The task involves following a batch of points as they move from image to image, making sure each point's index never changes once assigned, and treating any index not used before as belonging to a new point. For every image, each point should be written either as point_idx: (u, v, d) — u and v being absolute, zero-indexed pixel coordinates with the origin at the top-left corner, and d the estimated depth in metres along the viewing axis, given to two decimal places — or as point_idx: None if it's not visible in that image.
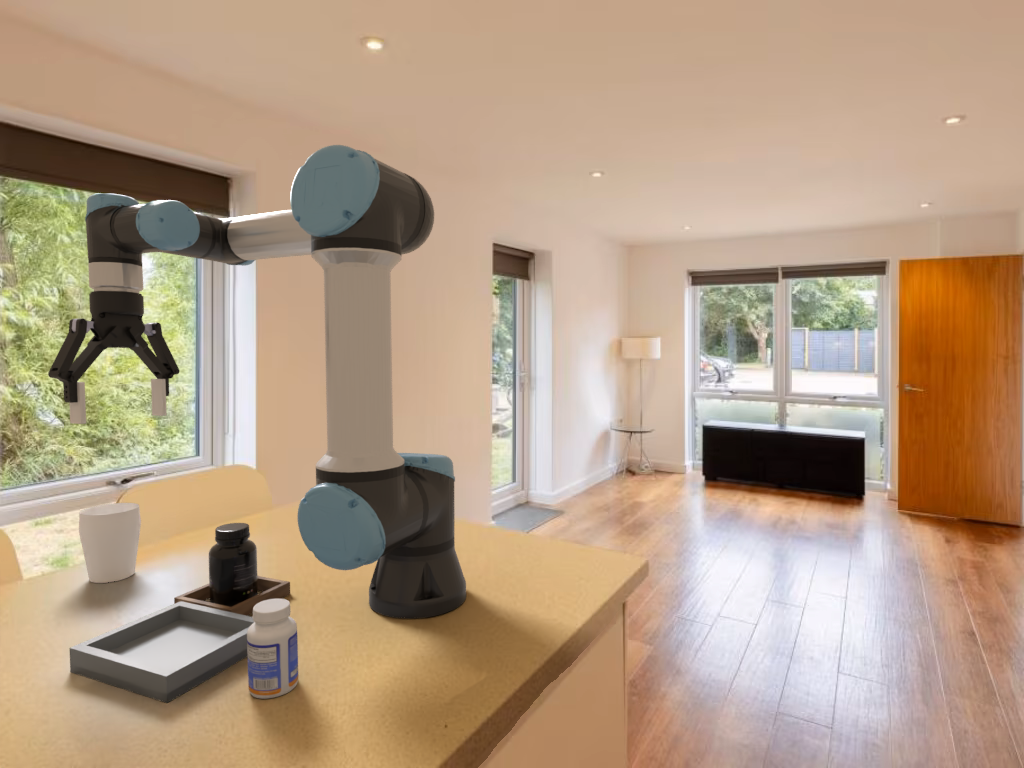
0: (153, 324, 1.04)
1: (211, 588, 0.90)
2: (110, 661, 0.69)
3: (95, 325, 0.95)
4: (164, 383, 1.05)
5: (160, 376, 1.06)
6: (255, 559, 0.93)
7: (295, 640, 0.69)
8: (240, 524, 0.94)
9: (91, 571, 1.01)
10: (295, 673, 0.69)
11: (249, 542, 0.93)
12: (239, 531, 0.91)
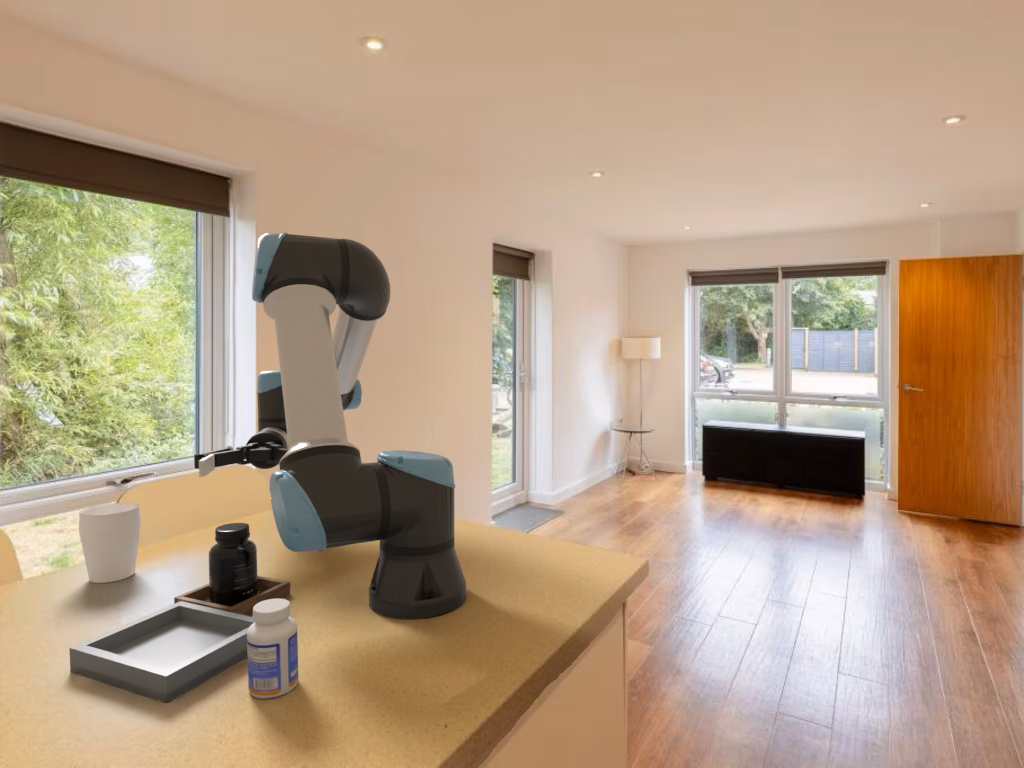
0: None
1: (211, 588, 0.90)
2: (110, 661, 0.69)
3: None
4: None
5: None
6: (255, 559, 0.93)
7: (295, 640, 0.69)
8: (240, 524, 0.94)
9: (91, 571, 1.01)
10: (295, 673, 0.69)
11: (249, 542, 0.93)
12: (239, 531, 0.91)
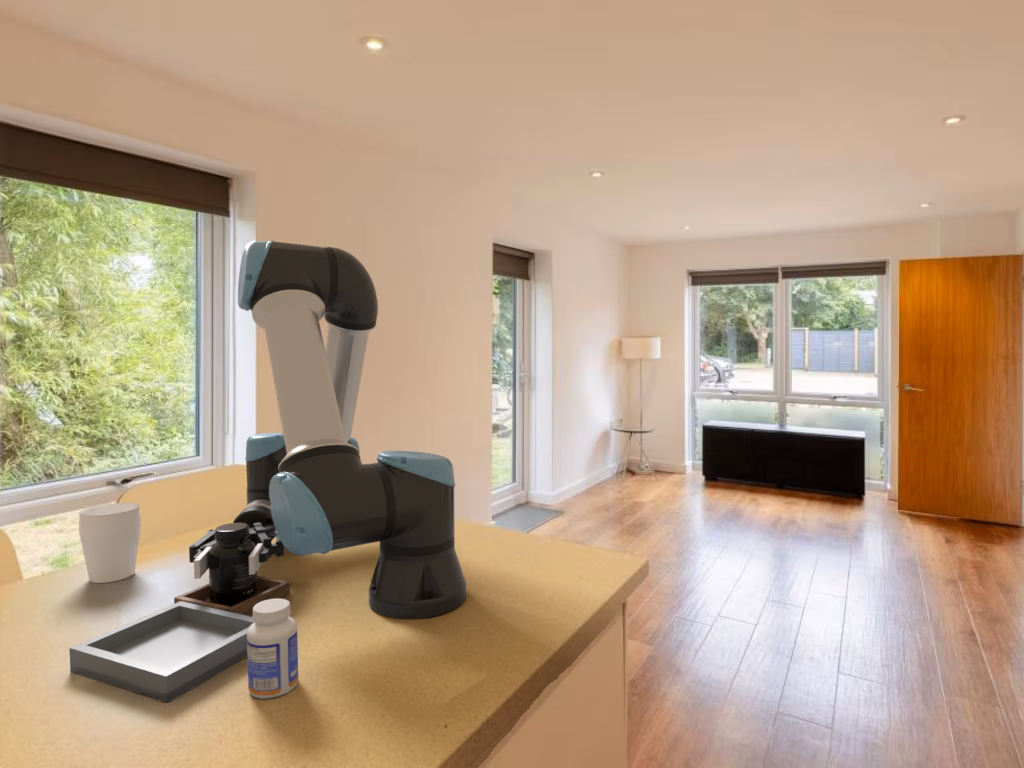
0: None
1: (211, 588, 0.90)
2: (110, 661, 0.69)
3: None
4: (260, 544, 0.94)
5: None
6: None
7: (295, 640, 0.69)
8: (240, 524, 0.94)
9: (91, 571, 1.01)
10: (295, 673, 0.69)
11: (249, 542, 0.93)
12: (239, 531, 0.91)
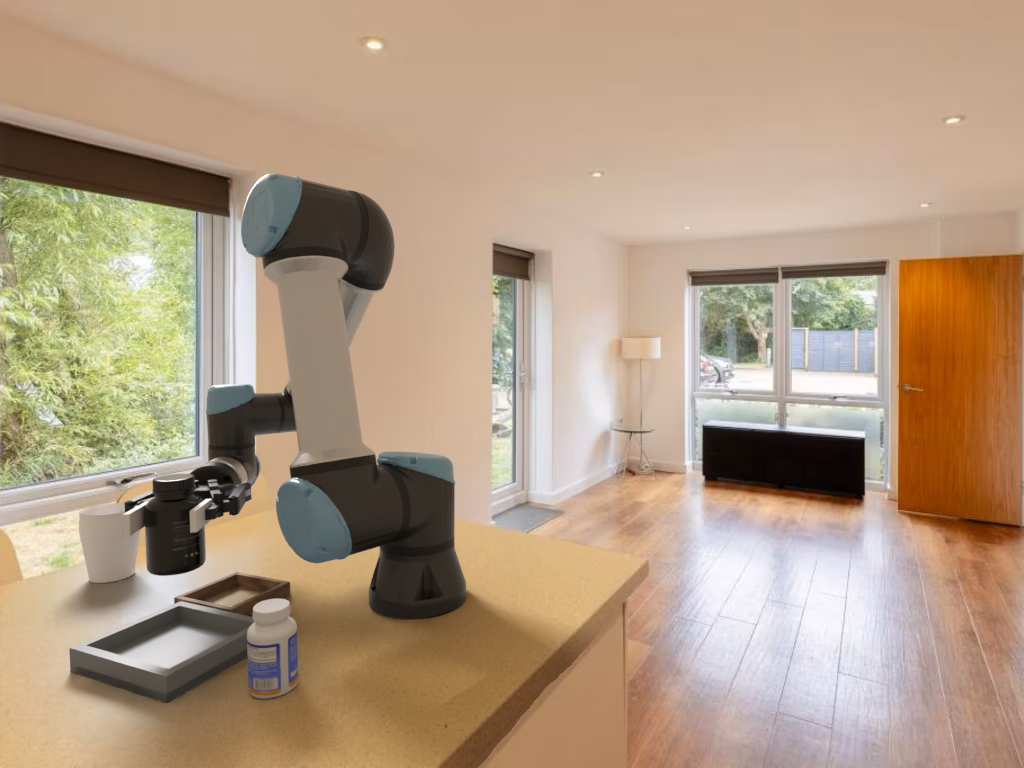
0: None
1: (147, 549, 0.76)
2: (110, 661, 0.69)
3: None
4: (208, 500, 0.79)
5: None
6: None
7: (295, 640, 0.69)
8: (184, 475, 0.79)
9: (91, 571, 1.01)
10: (295, 673, 0.69)
11: (194, 496, 0.78)
12: (181, 481, 0.76)
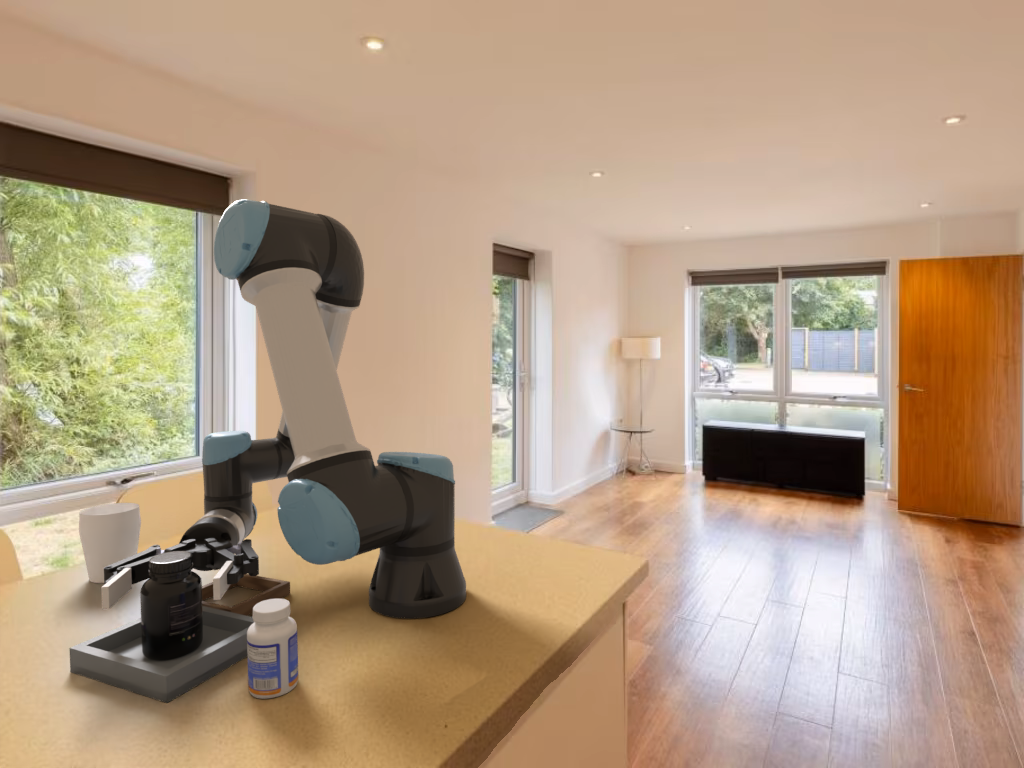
0: None
1: (143, 633, 0.73)
2: (110, 661, 0.69)
3: None
4: (229, 562, 0.79)
5: None
6: (199, 596, 0.76)
7: (295, 640, 0.69)
8: (181, 553, 0.77)
9: (91, 571, 1.01)
10: (295, 673, 0.69)
11: (192, 575, 0.76)
12: (178, 563, 0.74)
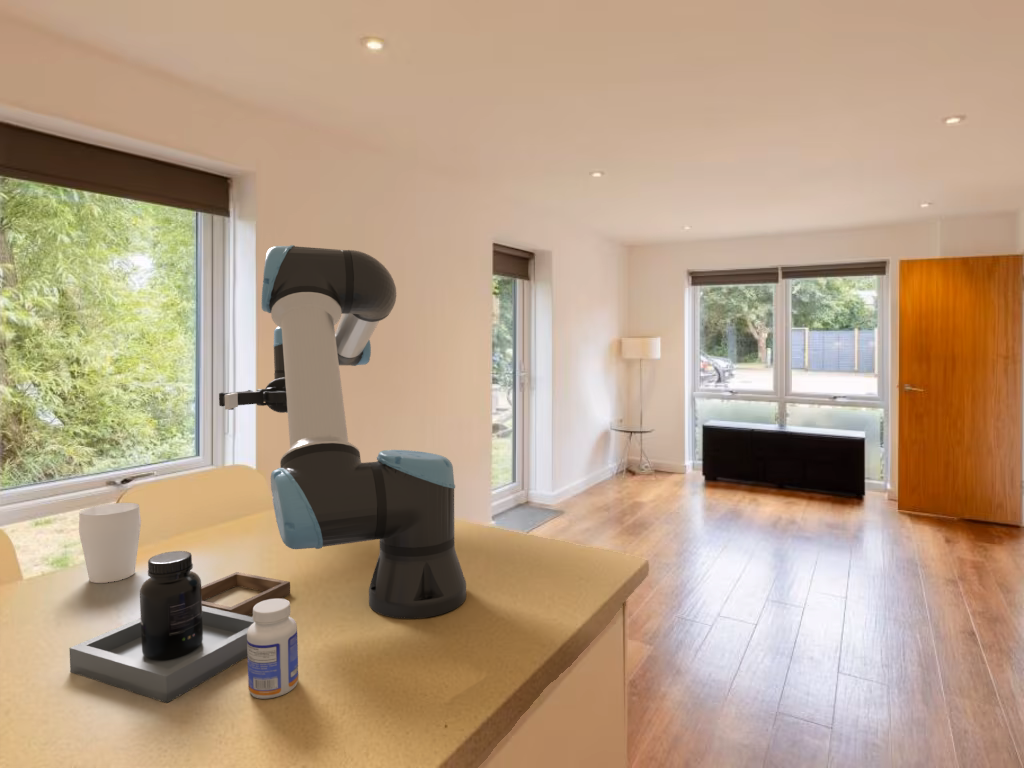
0: None
1: (142, 633, 0.73)
2: (110, 661, 0.69)
3: None
4: None
5: None
6: (199, 596, 0.76)
7: (295, 640, 0.69)
8: (181, 553, 0.77)
9: (91, 571, 1.01)
10: (295, 673, 0.69)
11: (191, 575, 0.76)
12: (177, 562, 0.74)
